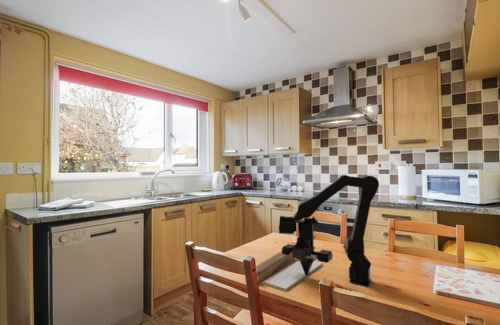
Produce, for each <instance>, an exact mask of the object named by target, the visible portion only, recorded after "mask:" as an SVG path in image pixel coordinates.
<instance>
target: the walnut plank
mask: <svg viewBox="0 0 500 325" xmlns="http://www.w3.org/2000/svg"><path fill="white" fill-rule="evenodd" d="M293 260H296V258H293V254H292V252H291V253H290V254H289V255H284V254H282V250H281V251H279V252H277V253H276V254H274V255H272V256H271V257H268V258H267V259H264V260H263V261H261V262H259V263H258V264H257V265H255V266H256V269H257V276H258V282H259V283H258V284H261V282H263V281H264V280H266V279H268V278H269V277H271V275H274V273H276V272H278V271H279V270H280V269H282V268H283V267H285V266H286V265H288V264H290V263H291V261H293Z"/></svg>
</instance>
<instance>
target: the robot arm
mask: <svg viewBox="0 0 500 325" xmlns="http://www.w3.org/2000/svg"><path fill="white" fill-rule="evenodd" d="M346 187H354V188H357V190H358V201H357V206H356V212H355V215H354V221H353V227H352V231H351V234H350V236H349V237H347V236H346V237H344V240H345V241H344V244H343V246H342V247H343V249H344V253H345V255H346V257H347V259H348V260H349V261H350V262H351V263H350V266H349V267H348V279H349V283H351V284H356V285H361V286H365V287H369V286H370V284H371V282H372V278H371V266H372V263H371V261H370V260H369V258H368V257H367V256H366V254H365V243H364V242H365V240H364V237H365V231H366V228H367V223H368V219H369V214H370V208H371V203H372V201H373V199H374V197H375V196H376V194H377V192H378V188H379V187H380V182H379V180H378V179H377V178H376V177H375V176H373V175H362V176H361V177H358V176H357V177H356V176H350V175H346V174H342V175H340V176H339V177H338V178H337V179H336V180H334V181H333V182H331V183H330V184H329V185H327V186H326V187H325V188H323V190H321V191H319V192H318V193H317V194H316V195H314V196H311V197H310V198H309V197H308V198H307V199H305V200H303V201H301V202H300V203H299V204H298V205H297V211H296V213H293V214H294V215H293V216H286V215H280V216H279V224H278V233H279V234H283V235H285V234H286V235H294V234H295V233H296V232H298V234H297V235H298V236H297V238H296V243H295V244H290V243H287V244H286V245H284V246H282V248H281V251H282V254H284V255H289V254H290V253H291V252H292V254H293V258H295V260H297V261H300V263H301V265H302V268H303V270H304V273H305V275H308V274H309V271H310V268H311V266H312V263H313V261H318V262H321V263H329V262H330V261H331V260H333V252H332V251H331V250H327V249H321V250H319V251H315V250H316V249H315V248H316V246H315V245H314V244H315V242H314V240H315V235H314V224H315V225H316V224H319V220H318V219H317V218H316V217H315V216H314V213H316V211H317V210H318V209H319V208H320V207H321V205H322V204H324V203H325V202H326V201H328V200H329V199H331V198H332V197H333V196H335V195H336V194H337V193H338V192H340V191H341V190H342V189H344V188H346ZM311 216H312V217H311ZM310 217H311V218H310ZM297 230H298V231H297ZM309 275H310V274H309ZM309 275H308V276H309Z"/></svg>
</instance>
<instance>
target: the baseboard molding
mask: <svg viewBox="0 0 500 325" xmlns="http://www.w3.org/2000/svg"><path fill="white" fill-rule="evenodd" d="M323 263H324V262H321V261H317V260H315V261H313V263H312V266H311V268H310V271H309V274H308V275H305V273H304V270H303V268H302V265H301V263H300V261H299V260H296V262H293V263H292V264H291V265H288V266H287V267H285V268H283V269H281V270H280V271H277V273H276V272H275V274H272V276H271V275H270V276H269V277H267V278H265V279H264V280H262V281H261V282H260V284H263V285H265V286H268V287H272V288H275V289H277V290H280V291H282V292H283V291H284V292H287V291H288V290H289V289H291V288H292V287H293V286H295V285H297V284H298V283H299V282H300V281H302V280H304V279H305V278H306V277H307V276H309V275H310V274H312V273H313V272H314V271H317V269H319V268H320V267H322V266H323V265H324V264H323Z"/></svg>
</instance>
